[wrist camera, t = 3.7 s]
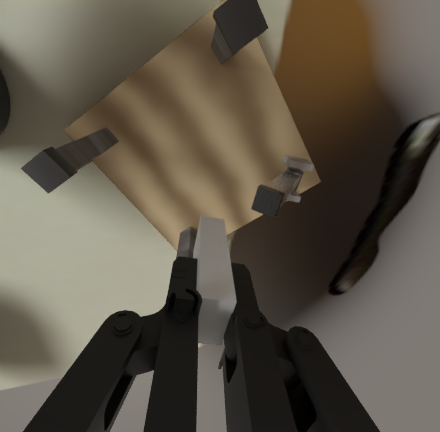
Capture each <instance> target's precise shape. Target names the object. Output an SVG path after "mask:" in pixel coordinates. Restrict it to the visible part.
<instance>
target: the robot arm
mask: <svg viewBox="0 0 440 432" xmlns="http://www.w3.org/2000/svg"><path fill="white" fill-rule="evenodd" d="M9 113H10V100H9V93H8V89H7V86H6V82H5V80H4V77H3V75H2V73H1V71H0V134H1V132H2V131H3V130H4V128H5V126H6V124H7V122H8V118H9ZM223 339H224V344H225V349H224V352H223V354H222V357H221V360H220V362H219V368H218V369H221V367H222V365H223V377H224V394H225V409H226V424H227V432H380V431H379V429H378V428H377V426H376V425H375V423H374V422H373V420H372V419H371V418H370V416H369V414H368V413H367V411H366V410H365V409H364V407H363V406H362V404H361V403H360V401H359V400H358V398H357V397H356V395H355V394H354V392H353V391H352V389H351V388H350V386H349V385H348V383H347V382H346V380H345V379H344V377H343V376H342V374H341V373H340V371H339V370H338V369H337V367H336V366H335V364H334V362H333V361H332V360H331V358H330V357H329V355H328V354H327V352H326V351H325V349H324V348H323V346H322V345H321V343H320V342H319V340H318V339H317V338H316V336H315V335H314V334H313V333H312V332H310V331H309V330H307V329H305V328H303V327H297V326H295V327H292V328H290V330H289V331H288V332H287V331H285V330H282V329H280V328H277V327H275V326H273V325H271V324H270V323H268V321H267V319H266V318H265V316H264V315H263V314H262V313H261V312H260V311H259V308H258V305H257V300H256V296H255V292H254V288H253V284H252V280H251V276H250V272H249V270H248V269H247V268H246V266H245V265H244V264H237V263H231V261H230V255H229V248H228V241H227V235H226V228H225V222H224V219H219V218H213V217H207V216H201V217H200V222H199V227H198V232H197V236H196V241H195V246H194V252H193V258H189V257H181V256H178V257H177V259H176V260H175V261H174V262H173V267H172V273H171V278H170V284H169V290H168V295H167V299H166V304H165V305H164V307H163V308H162V309H161V310H160V311H158V312H157V313H155V314H152V315H148V316H143V317H140V316H139V315H138V314H137V313H135V312H133V311H127V310H124V311H119V312H116V313H114V314H112V315H110V316H109V317H108V318H107V319H106V320H105V321H104V323H103V324H102V325H101V327H100V328H99V329H98V331H97V332H96V333H95V335H94V336H93V338H92V339H91V340H90V342H89V343H88V344H87V346H86V347H85V348H84V350H83V351H82V352H81V354H80V355H79V356H78V358H77V359H76V361H75V362H74V363H73V365H72V366H71V367H70V369H69V370H68V371H67V373H66V374H65V375H64V377H63V378H62V380H61V381H60V382H59V384H58V385H57V386H56V388H55V389H54V390H53V392H52V393H51V394H50V396H49V397H48V398H47V400H46V401H45V403H44V404H43V405H42V407H41V408H40V410H39V411H38V412H37V414H36V415H35V416H34V417H33V419H32V420H31V421H30V423H29V424H28V425H27V427H26V428H25V430H24V431H23V432H110V430H111V428H112V426H113V424H114V421H115V419H116V417H117V415H118V413H119V411H120V409H121V407H122V405H123V402H124V400H125V398H126V396H127V394H128V392H129V390H130V388H131V386H132V384H133V381H134V379H135V377H136V375H138V374H142V373H146V372H149V371H152V370H154V374H153V380H152V386H151V392H150V397H149V403H148V409H147V414H146V420H145V426H144V432H196V414H197V368H198V367H197V366H198V343H202V344H215V345H221V344H222V342H223Z"/></svg>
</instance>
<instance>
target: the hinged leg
mask: <svg viewBox="0 0 440 432" xmlns="http://www.w3.org/2000/svg"><path fill="white" fill-rule="evenodd" d="M303 173H304V171H302V170H301V169H298V168H293V167H287V170H286V171H284V172H283V173H281V174H280V175H279V176H277V177H276V178H274V179H273V180H272V181H270V182H269V183H267V184H266V185H262V184H261V185H259V186H258V188H257V191H256V195H255V198H254V201H253V204H252V207H251V209H252V210H254V211H257V212H259V213H261V214H264V215H266V216H269V217H271V218H273V219H274V218H275V217H276V216H277V213H278V211H279V208H280V207H281V206H282V205H283V203H284V202H285V201H286V200H287V199H288V198H289V196H290V195H291V194H292V193H293V192H294V191H296V190H297V188H298V185H299V183H300V180H301V178H302V175H303Z"/></svg>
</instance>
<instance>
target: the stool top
mask: <svg viewBox="0 0 440 432" xmlns="http://www.w3.org/2000/svg"><path fill="white" fill-rule="evenodd" d="M267 29H268V26H267V24H266V21H265V19H264V16H263V14H262V12H261V9H260V7H259V4H258V2H257V0H222V1H221V2H220V3H218V4H217V5H216V6H215V7H214V8H212V9H211V10H210V11H209V12H207V13H206V14H205V15H204V16H203V17H201V18H200V19H199V20H198V21H196V22H195V23H194V24H193V25H192V26H190V27H189V28H188V29H187V30H185V31H184V32H183V33H182V34H181V35H179V36H178V37H177V38H176V39H174V40H173V41H172V42H171V43H170V44H168V45H167V46H166V47H165V48H163V49H162V50H161V51H160V52H159V53H157V54H156V55H155V56H154V57H152V58H151V59H150V60H149V61H148V62H146V63H145V64H144V65H143V66H142V67H140V68H139V69H138V70H137V71H135V72H134V73H133V74H132V75H131V76H129V77H128V78H127V79H126V80H124V81H123V82H122V83H121V84H120V85H118V86H117V87H116V88H115V89H113V90H112V91H111V92H110V93H109V94H107V95H106V96H105V97H104V98H102V99H101V100H100V101H99V102H98V103H96V104H95V105H94V106H93V107H91V108H90V109H89V110H88V111H87V112H85V113H84V114H83V115H82V116H80V117H79V118H78V119H77V120H76V121H74V122H73V123H72V124H71V125H69V126H68V127H67V128H66V129H65V130H64V131H65V132H66V133H67V134H68V135H69V136H70V137H71V138H72V140H73V142H71V143H69V144H66V145H64V146H62V147H59V148H57V149H54V148H53V147H50V148H48V149H45V150H43V151H42V152H40V153H39V154H38V155H37V156H35V157H34V158H33V159H32V160H31V161H29V162H28V163H27V164H26V165H24V166H23V167H22V168H21V169H22V170H23V171H24V172H25V173H26V174H27V175H29V176H30V177H31V178H32V179H33V180H34V181H35V182H36V183H37V184H39V185H40V186H41V187H42V188H43V189H44V190H45V191H46V192H48V193H50V192H51V191H53V190H54V189H56V188H57V187H58V186H60V185H61V184H62V183H64V182H65V181H66V180H68V179H69V178H70V177H72V176H73V175H74V174H76V173H77V170H79V169H80V168H82V167H83V166H85V165H86V164H88V163H89V162H91V161H93V162H94V163H95V164H96V165H97V166H98V167H99V168H100V169H101V170H102V172H103V173H104V174H105V175H106V176H107V177H108V178H109V179H110V180H111V181H112V182H113V183H114V184H115V185H116V186H117V188H118V189H119V190H120V191H121V192H122V193H123V194H124V195H125V196H126V197H127V198H128V199H129V200H130V201H131V202H132V204H133V205H134V206H135V207H136V208H137V209H138V210H139V211H140V212H141V213H142V214H143V215H144V216H145V217H146V218H147V220H148V221H149V222H150V223H151V224H152V225H153V226H154V227H155V228H156V229H157V230H158V231H159V232H160V233H161V234H162V236H163V237H164V238H165V239H166V240H167V241H168V242H169V243H170V244H171V245H172V246H173V247H174V248H175V249H176V250H177V257H178V256H181V257H189V258H193V252H194V246H195V241H196V236H197V232H198V227H199V222H200V217H201V216H207V217H213V218H219V219H224V222H225V228H226V235H228V234H230V233H232V232H233V231H235V230H237V229H239V228H240V227H242V226H244V225H246V224H247V223H249V222H251V221H252V220H254V219H256V218H258V217H260V216H261V215H263V214H261V213H259V212H257V211H254V210H252V209H251V207H252V204H253V201H254V198H255V195H256V191H257V188H258V186H259V185H261V184H262V185H266V184H267V183H269V182H270V181H272V180H273V179H274V178H276V177H277V176H279V175H280V174H281V173H283V172H284V171H286V170H287V167H293V168H298V169H301V170H302V171H304V173H303V175H302V178H301V180H300V183H299V185H298V188H297V190H296V191H294V192H293V193H292V194H291V195H290V196H289V198H288V199H287V200H286V201H288V200H289V201H294V202H299V201H300V198H301V196H300V195H299V194H300V193H302V192H304V191H306V190H307V189H309V188H311V187H312V186H314V185H316V184H318V183H320V182H321V181H320V179H319V176H318V174H317V172H316V170H315V167H314V165H313V163H312V161H311V158H310V156H309V154H308V152H307V149H306V147H305V145H304V143H303V141H302V138H301V136H300V134H299V131H298V130H297V127H296V125H295V122H294V120H293V118H292V116H291V114H290V111H289V109H288V107H287V105H286V102H285V100H284V98H283V95H282V93H281V91H280V89H279V87H278V84H277V82H276V80H275V78H274V75H273V73H272V71H271V69H270V66H269V64H268V62H267V60H266V57H265V55H264V53H263V51H262V48H261V46H260V44H259V42H258V39H257V37H258V36H259V35H260V34H262V33H263V32H264V31H265V30H267ZM286 201H285V202H286ZM177 257H176V259H177Z"/></svg>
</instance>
